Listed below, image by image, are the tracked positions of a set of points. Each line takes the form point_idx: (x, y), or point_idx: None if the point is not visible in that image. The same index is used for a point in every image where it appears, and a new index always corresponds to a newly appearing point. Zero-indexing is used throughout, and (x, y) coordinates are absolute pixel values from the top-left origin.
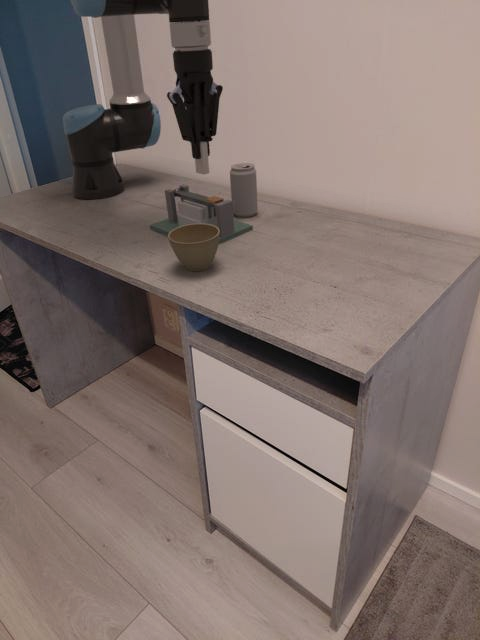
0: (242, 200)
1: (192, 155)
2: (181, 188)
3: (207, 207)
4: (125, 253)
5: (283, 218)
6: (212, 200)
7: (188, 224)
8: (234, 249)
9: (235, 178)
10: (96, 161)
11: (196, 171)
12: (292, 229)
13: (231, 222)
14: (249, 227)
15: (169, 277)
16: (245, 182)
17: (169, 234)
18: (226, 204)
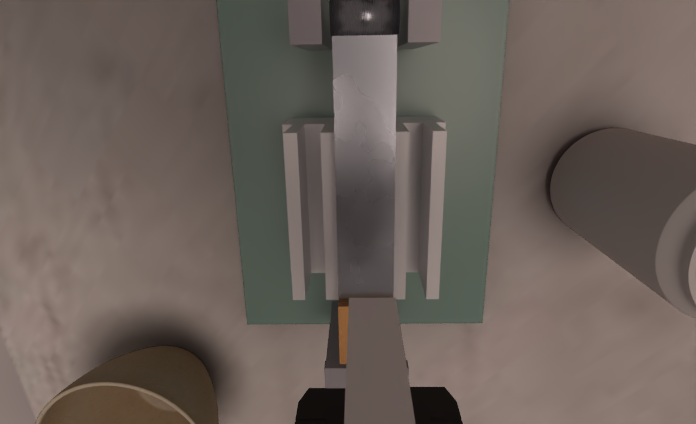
0: (587, 238)
1: (298, 408)
2: (396, 24)
3: (336, 297)
4: (31, 129)
5: (628, 324)
6: (342, 346)
7: (150, 393)
8: (320, 375)
9: (642, 252)
10: None
11: (349, 305)
12: (553, 404)
13: None
14: (464, 321)
15: (74, 371)
16: (650, 288)
17: (50, 406)
18: None
